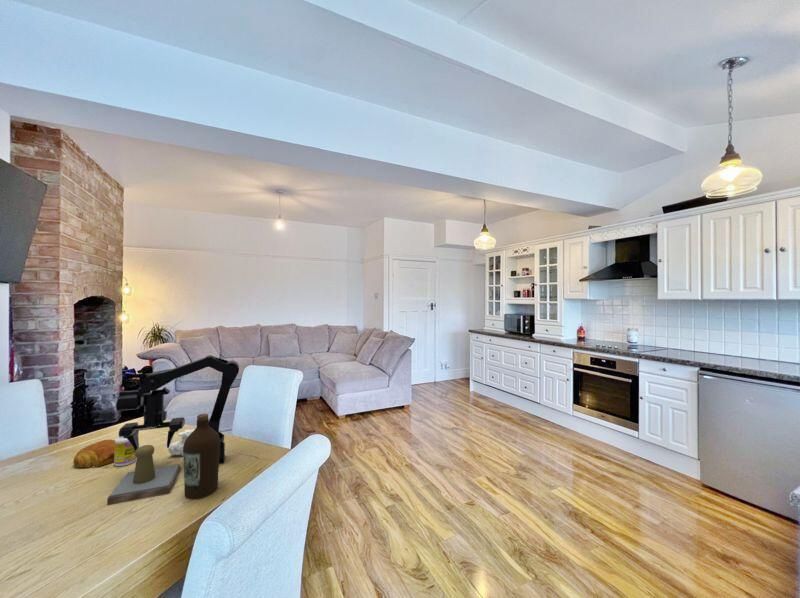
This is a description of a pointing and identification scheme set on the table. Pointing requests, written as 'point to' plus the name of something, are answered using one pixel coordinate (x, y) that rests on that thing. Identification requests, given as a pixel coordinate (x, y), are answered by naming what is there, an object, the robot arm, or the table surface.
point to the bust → (179, 443)
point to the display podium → (145, 485)
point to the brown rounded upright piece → (144, 465)
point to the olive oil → (201, 460)
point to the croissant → (95, 454)
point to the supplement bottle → (123, 452)
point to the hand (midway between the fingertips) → (153, 449)
